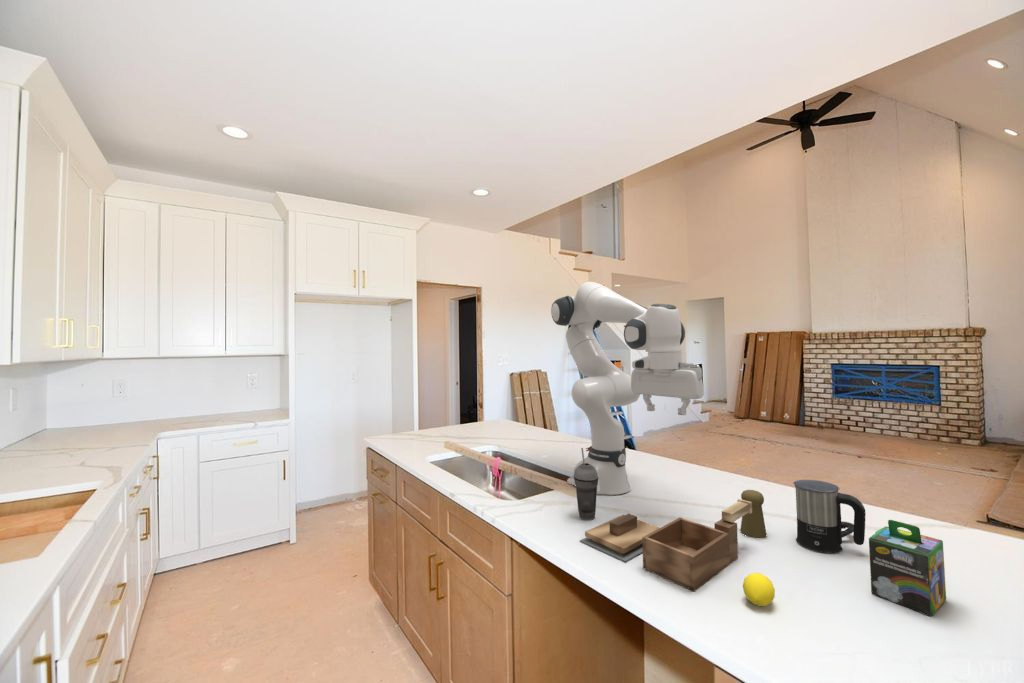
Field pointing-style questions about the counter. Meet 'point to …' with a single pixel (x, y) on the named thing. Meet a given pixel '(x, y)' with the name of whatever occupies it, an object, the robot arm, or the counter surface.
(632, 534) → the lid
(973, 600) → the counter surface
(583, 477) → the beverage cup
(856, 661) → the counter surface
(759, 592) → the lemon
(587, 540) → the mat
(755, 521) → the olive chess pawn
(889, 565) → the chalk box
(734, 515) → the light wooden bar
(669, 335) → the robot arm
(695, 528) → the brown wooden box
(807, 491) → the milk frother
